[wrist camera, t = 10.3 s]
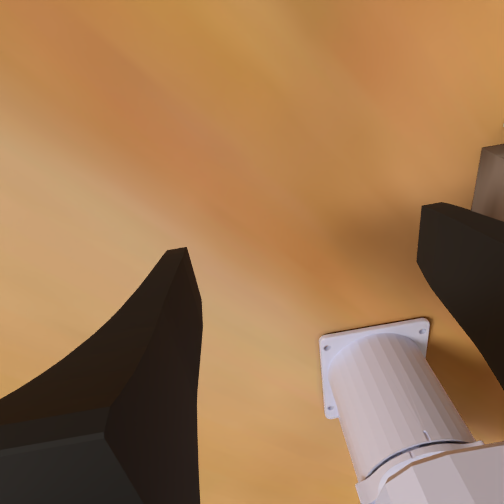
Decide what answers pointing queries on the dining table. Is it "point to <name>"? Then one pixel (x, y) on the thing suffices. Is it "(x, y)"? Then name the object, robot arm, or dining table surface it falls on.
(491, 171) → the block
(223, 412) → the dining table surface
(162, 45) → the dining table surface
